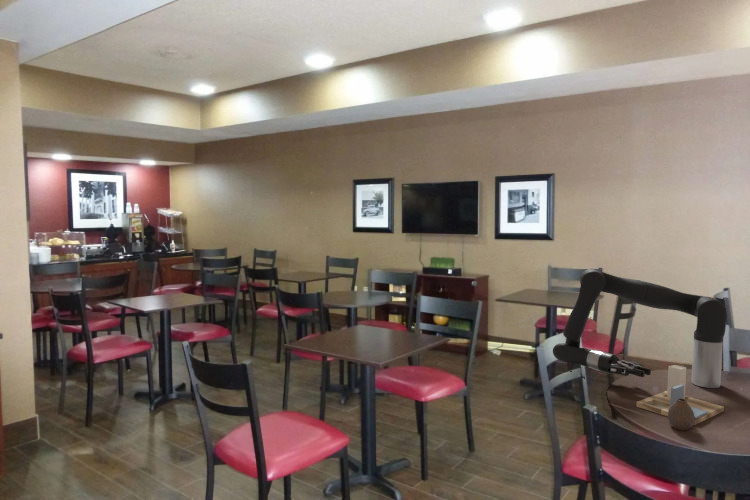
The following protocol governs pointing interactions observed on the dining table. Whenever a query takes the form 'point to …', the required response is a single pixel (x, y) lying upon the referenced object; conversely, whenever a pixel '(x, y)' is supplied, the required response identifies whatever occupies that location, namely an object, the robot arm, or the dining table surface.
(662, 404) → the puzzle board
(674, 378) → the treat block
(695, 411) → the blue l-shaped block
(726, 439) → the dining table surface
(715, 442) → the dining table surface
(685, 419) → the vase
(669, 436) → the dining table surface
